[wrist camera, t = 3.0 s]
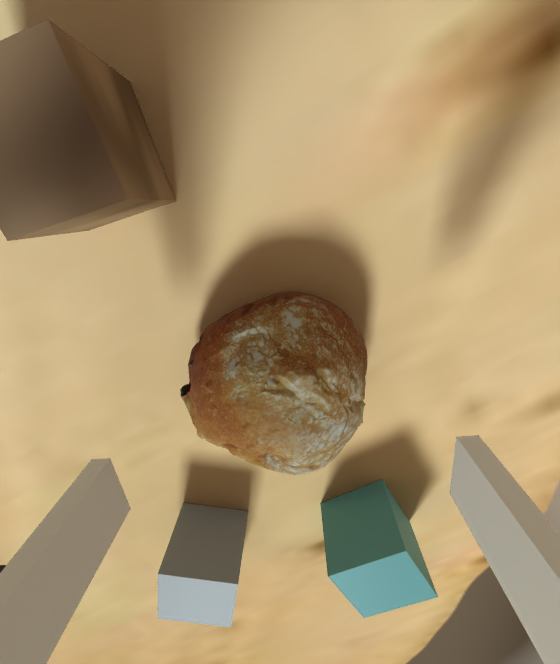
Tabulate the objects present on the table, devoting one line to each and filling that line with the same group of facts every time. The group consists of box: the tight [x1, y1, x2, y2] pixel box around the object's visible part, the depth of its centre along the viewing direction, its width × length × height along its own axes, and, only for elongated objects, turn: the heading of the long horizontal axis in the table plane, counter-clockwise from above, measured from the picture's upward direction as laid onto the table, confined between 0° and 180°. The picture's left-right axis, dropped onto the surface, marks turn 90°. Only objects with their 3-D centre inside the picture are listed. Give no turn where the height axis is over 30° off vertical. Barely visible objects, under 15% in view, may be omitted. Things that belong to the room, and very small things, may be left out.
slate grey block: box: [158, 503, 248, 628], centre depth 22 cm, size 5×5×5 cm
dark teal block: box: [321, 479, 438, 618], centre depth 21 cm, size 5×5×5 cm
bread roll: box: [181, 292, 367, 475], centre depth 17 cm, size 10×10×8 cm
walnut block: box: [0, 19, 176, 241], centre depth 12 cm, size 5×5×5 cm
